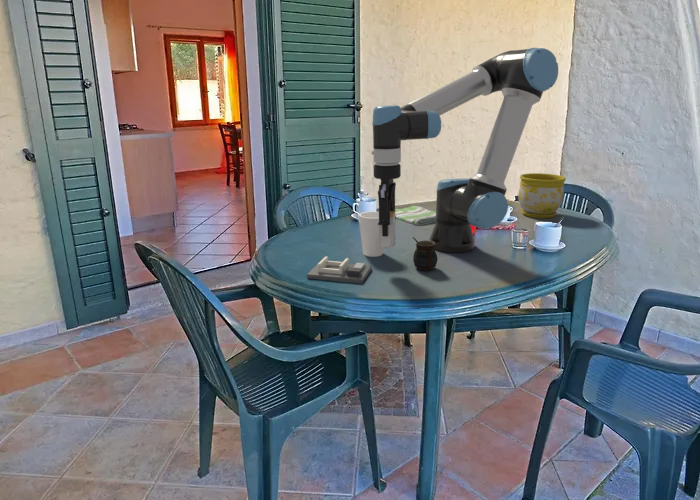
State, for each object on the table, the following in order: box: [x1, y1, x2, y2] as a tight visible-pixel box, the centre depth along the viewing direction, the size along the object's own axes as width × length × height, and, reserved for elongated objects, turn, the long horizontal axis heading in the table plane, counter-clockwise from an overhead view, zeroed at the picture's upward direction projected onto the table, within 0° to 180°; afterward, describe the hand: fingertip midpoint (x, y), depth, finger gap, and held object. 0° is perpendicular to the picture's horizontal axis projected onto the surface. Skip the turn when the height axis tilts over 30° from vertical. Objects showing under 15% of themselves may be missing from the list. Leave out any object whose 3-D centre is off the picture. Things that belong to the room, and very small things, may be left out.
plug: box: [379, 211, 396, 249], centre depth 147 cm, size 4×4×10 cm
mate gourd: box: [412, 237, 439, 272], centre depth 151 cm, size 7×8×10 cm
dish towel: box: [395, 205, 436, 226], centre depth 213 cm, size 17×23×4 cm
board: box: [306, 256, 373, 284], centre depth 147 cm, size 16×12×4 cm
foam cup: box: [358, 211, 385, 258], centre depth 164 cm, size 10×9×13 cm
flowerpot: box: [517, 172, 567, 219], centre depth 215 cm, size 18×18×16 cm
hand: (387, 243), depth 148 cm, fingers closed on plug, 4 cm apart
